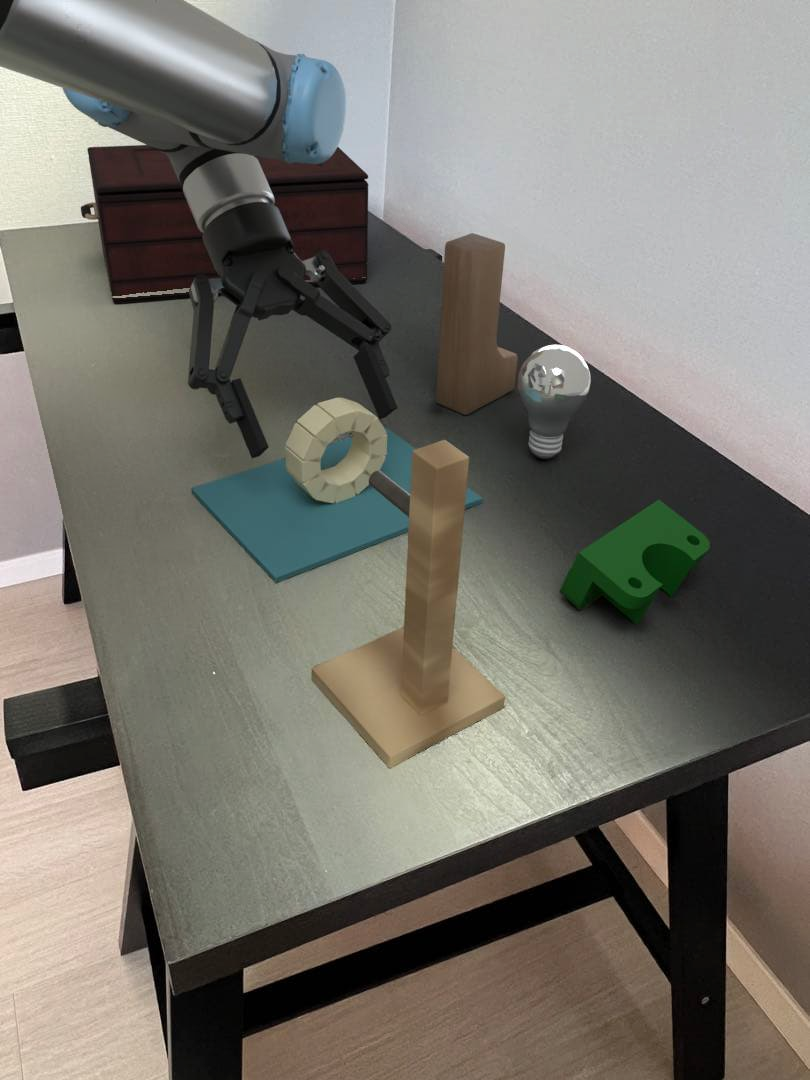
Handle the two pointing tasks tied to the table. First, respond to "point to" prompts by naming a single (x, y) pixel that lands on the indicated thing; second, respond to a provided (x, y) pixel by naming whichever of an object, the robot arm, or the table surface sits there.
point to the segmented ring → (323, 429)
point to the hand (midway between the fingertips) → (326, 433)
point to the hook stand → (417, 627)
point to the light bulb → (552, 395)
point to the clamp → (636, 561)
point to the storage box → (176, 242)
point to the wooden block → (472, 326)
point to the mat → (308, 512)
